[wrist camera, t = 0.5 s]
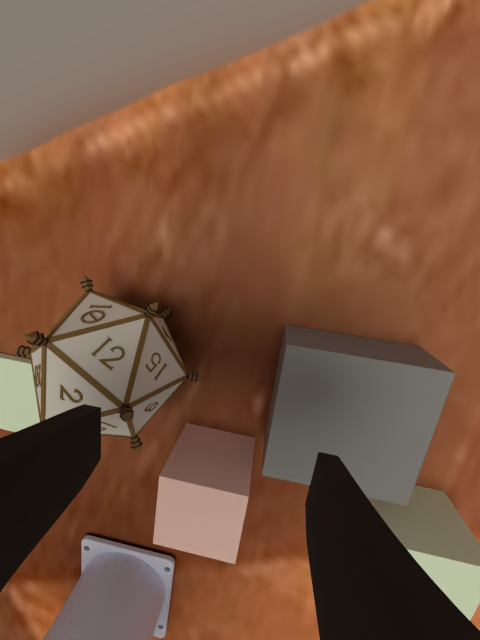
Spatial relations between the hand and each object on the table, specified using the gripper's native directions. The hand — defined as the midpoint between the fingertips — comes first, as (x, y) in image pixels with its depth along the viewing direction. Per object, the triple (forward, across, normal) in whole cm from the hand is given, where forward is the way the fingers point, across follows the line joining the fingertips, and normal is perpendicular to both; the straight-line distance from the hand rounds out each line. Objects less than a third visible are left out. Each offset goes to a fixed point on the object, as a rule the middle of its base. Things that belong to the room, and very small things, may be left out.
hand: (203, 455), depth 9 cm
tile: (+10, +17, +6) cm, 20 cm away
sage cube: (+10, -12, +10) cm, 19 cm away
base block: (+10, -6, +2) cm, 12 cm away
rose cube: (+10, +1, +9) cm, 13 cm away
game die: (+10, +6, +1) cm, 12 cm away
